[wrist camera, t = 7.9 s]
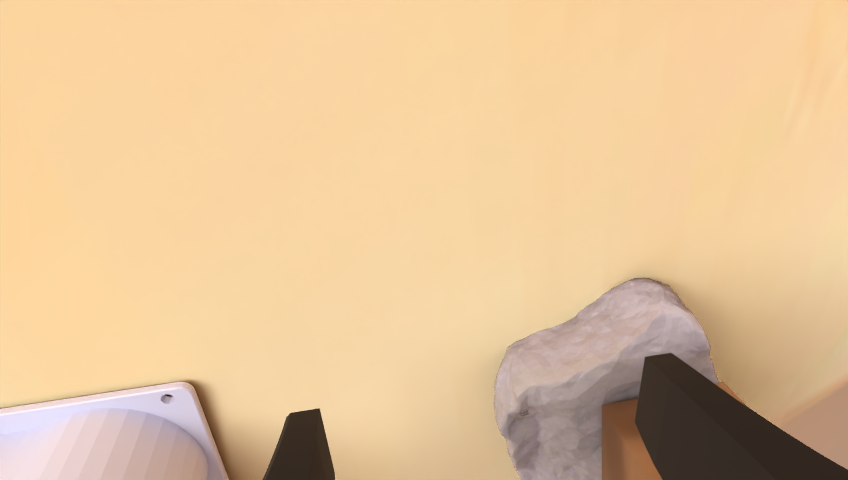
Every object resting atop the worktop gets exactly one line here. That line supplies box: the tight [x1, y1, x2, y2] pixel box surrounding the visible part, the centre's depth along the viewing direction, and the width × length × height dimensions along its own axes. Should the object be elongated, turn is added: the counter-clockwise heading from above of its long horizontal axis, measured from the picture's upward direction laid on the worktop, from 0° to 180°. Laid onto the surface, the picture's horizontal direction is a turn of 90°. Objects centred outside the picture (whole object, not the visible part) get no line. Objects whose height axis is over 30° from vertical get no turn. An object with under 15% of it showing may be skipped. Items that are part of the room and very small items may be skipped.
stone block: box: [494, 278, 719, 480], centre depth 26 cm, size 12×5×10 cm
